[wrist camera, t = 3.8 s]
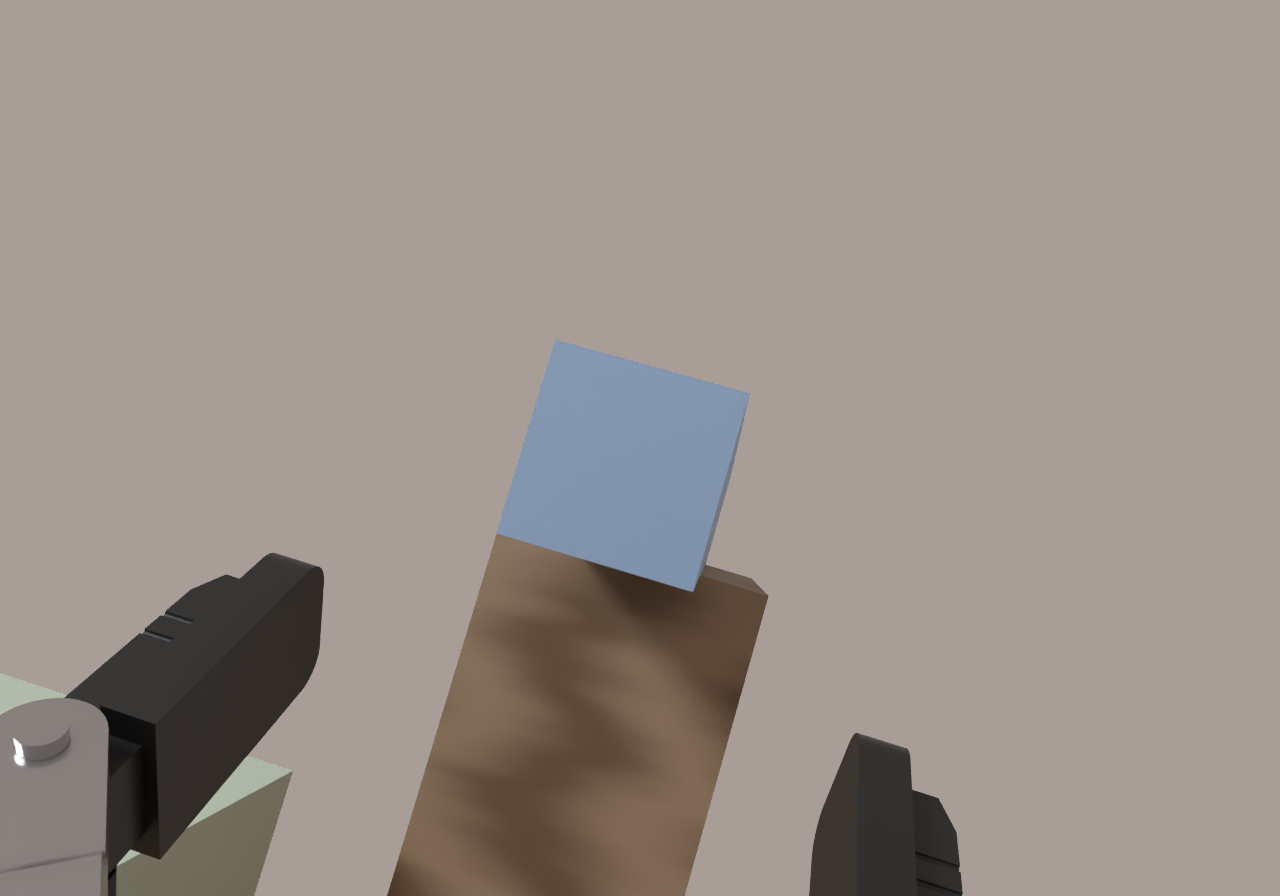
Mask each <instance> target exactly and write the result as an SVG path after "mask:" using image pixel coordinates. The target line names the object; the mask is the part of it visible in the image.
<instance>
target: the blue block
mask: <svg viewBox="0 0 1280 896" xmlns="http://www.w3.org/2000/svg"><path fill="white" fill-rule="evenodd" d="M748 398H749V393H747V392H743V391H740V390H736V389H732V388H728V387H725V386H721V385H718V384H714V383H710V382H707V381H703V380H700V379H696V378H692V377H689V376H685V375H681V374H678V373H674V372H671V371H667V370H663V369H660V368H656V367H652V366H648V365H645V364H642V363H638V362H634V361H631V360H627V359H624V358H620V357H616V356H613V355H609V354H605V353H602V352H598V351H595V350H591V349H587V348H584V347H580V346H576V345H573V344H569V343H565V342H562V341H558V340H555V341H554V345H553V348H552V352H551V355H550V358H549V361H548V365H547V368H546V371H545V374H544V378H543V381H542V384H541V388H540V391H539V394H538V398H537V401H536V404H535V408H534V411H533V414H532V418H531V421H530V424H529V427H528V431H527V434H526V437H525V441H524V444H523V447H522V451H521V454H520V457H519V460H518V464H517V467H516V470H515V474H514V477H513V480H512V484H511V487H510V490H509V494H508V497H507V501H506V503H505V507H504V510H503V513H502V517H501V520H500V523H499V527H498V530H497V534H500V535H504V536H507V537H510V538H514V539H517V540H520V541H524V542H527V543H530V544H534V545H537V546H540V547H544V548H547V549H551V550H554V551H557V552H561V553H564V554H567V555H571V556H574V557H577V558H581V559H584V560H587V561H591V562H594V563H597V564H601V565H604V566H607V567H611V568H614V569H617V570H621V571H624V572H627V573H631V574H634V575H637V576H641V577H644V578H647V579H651V580H654V581H657V582H661V583H664V584H667V585H671V586H674V587H677V588H681V589H684V590H687V591H691V592H693V591H694V588H695V586H696V584H697V582H698V580H699V577H700V575H701V573H702V571H703V568H704V566H705V564H706V560H707V557H708V553H709V550H710V547H711V543H712V540H713V536H714V533H715V529H716V526H717V522H718V519H719V515H720V512H721V508H722V505H723V501H724V498H725V494H726V491H727V487H728V484H729V480H730V477H731V472H732V468H733V464H734V459H735V455H736V450H737V446H738V442H739V437H740V433H741V429H742V424H743V420H744V416H745V412H746V407H747V403H748Z"/></svg>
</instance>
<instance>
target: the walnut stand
mask: <svg viewBox="0 0 1280 896" xmlns="http://www.w3.org/2000/svg"><path fill="white" fill-rule="evenodd" d="M767 599H768V595H767V594H766V593H765V592H764V591H763V590H762V589H761V588H760V587H759V586H758V585H757V584H756V583H755V582H754V581H753V580H752V579H751V578H748V577H745V576H741V575H738V574H735V573H731V572H727V571H724V570H721V569H718V568H714V567H711V566H707V565H705V566H704V568H703V571H702V573H701V575H700V577H699V580H698V582H697V584H696V586H695V588H694V591H693V592H691V591H687V590H684V589H681V588H677V587H674V586H671V585H667V584H664V583H661V582H657V581H654V580H651V579H647V578H644V577H641V576H637V575H634V574H631V573H627V572H624V571H621V570H617V569H614V568H611V567H607V566H604V565H601V564H597V563H594V562H591V561H587V560H584V559H581V558H577V557H574V556H571V555H567V554H564V553H561V552H557V551H554V550H551V549H547V548H544V547H540V546H537V545H534V544H530V543H527V542H524V541H520V540H517V539H514V538H510V537H507V536H504V535H500V534H497V535H496V538H495V541H494V544H493V548H492V551H491V554H490V558H489V561H488V564H487V567H486V571H485V574H484V578H483V581H482V584H481V587H480V591H479V594H478V597H477V601H476V604H475V607H474V610H473V614H472V617H471V621H470V624H469V627H468V630H467V634H466V637H465V640H464V644H463V647H462V650H461V653H460V657H459V660H458V663H457V667H456V670H455V673H454V677H453V680H452V683H451V687H450V690H449V693H448V696H447V700H446V703H445V706H444V710H443V713H442V716H441V720H440V723H439V727H438V730H437V733H436V736H435V740H434V743H433V746H432V749H431V753H430V756H429V759H428V763H427V766H426V769H425V773H424V776H423V779H422V782H421V786H420V789H419V793H418V796H417V799H416V802H415V806H414V809H413V812H412V816H411V819H410V822H409V825H408V829H407V832H406V835H405V839H404V842H403V845H402V849H401V852H400V856H399V859H398V862H397V865H396V869H395V872H394V875H393V879H392V882H391V885H390V888H389V892H388V895H387V896H685V892H686V888H687V885H688V881H689V878H690V874H691V870H692V867H693V863H694V860H695V856H696V853H697V849H698V846H699V842H700V838H701V835H702V831H703V828H704V824H705V821H706V817H707V813H708V810H709V806H710V803H711V799H712V796H713V792H714V788H715V785H716V781H717V777H718V774H719V770H720V767H721V763H722V760H723V756H724V753H725V749H726V746H727V742H728V738H729V735H730V731H731V728H732V724H733V721H734V717H735V713H736V709H737V706H738V703H739V699H740V696H741V692H742V688H743V685H744V681H745V677H746V674H747V670H748V666H749V663H750V660H751V656H752V652H753V649H754V645H755V642H756V638H757V635H758V631H759V627H760V624H761V620H762V617H763V613H764V610H765V606H766V603H767Z"/></svg>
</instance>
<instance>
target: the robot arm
mask: <svg viewBox="0 0 1280 896" xmlns="http://www.w3.org/2000/svg"><path fill="white" fill-rule="evenodd" d="M323 587H324V574H323V571H322V569H321V568H320V567H318V566H315V565H311V564H308V563H305V562H302V561H299V560H295V559H292V558H289V557H286V556H283V555H279V554H276V553H270V554H268V555H266V556H265V557H264V558H262V559H261V560H260V561H259V562H258V563H257V564H256V565H255V566H254V567H252V568H251V569H250V570H249V571H248V572H247V573H246V574H245V575H244V576H242V577H241V578H240V579H238V578H235V577H232V576H229V575H224V576H222V577H219V578H217V579H214V580H212V581H210V582H207V583H205V584H203V585H200V586H198V587H196V588H193V589H191V590H190V591H189V592H188V593H186V594H185V595H184V596H183V597H182V598H180V599H179V600H178V601H177V602H176V603H175V604H174V605H172V606H171V607H170V608H169V609H168V610H166V612H165V615H164V616H159V617H158V618H157V619H156V620H155V621H154V622H152V623H151V624H150V625H149V626H148V627H147V628H145V631H144V633H143V634H138V635H137V636H136V637H135V638H134V639H132V640H131V641H130V642H129V643H128V644H127V645H125V646H124V647H123V648H122V649H121V650H120V651H118V652H117V653H116V654H115V655H114V656H113V657H111V658H110V659H109V660H108V661H107V662H106V663H104V664H103V665H102V666H101V667H100V668H99V669H97V670H96V671H95V672H94V673H93V674H92V675H90V676H89V677H88V678H87V679H86V680H84V681H83V682H82V683H81V684H80V685H79V686H78V687H76V688H75V689H74V690H73V691H72V692H70V693H69V694H68V695H67V696H66V697H65V698H50V699H42V700H37V701H32V702H29V703H25V704H22V705H20V706H17V707H15V708H12V709H10V710H8V711H6V712H4V713H2V714H1V715H0V896H118V868H117V864H118V863H119V862H120V861H121V860H122V858H123V857H124V856H125V855H126V854H127V853H128V852H129V850H133V851H136V852H139V853H142V854H145V855H147V856H150V857H153V858H156V859H159V860H161V858H162V857H163V856H164V855H165V854H166V852H167V851H168V850H169V849H170V848H171V846H172V845H173V844H174V843H175V842H176V840H177V839H178V838H179V837H180V836H181V834H182V833H183V832H184V831H185V830H186V828H187V827H188V826H189V825H190V824H191V822H192V821H193V820H194V819H195V818H196V816H197V815H198V814H199V813H200V812H201V810H202V809H203V808H204V807H205V806H206V804H207V803H208V802H209V801H210V800H211V798H212V797H213V796H214V795H215V794H216V792H217V791H218V790H219V789H220V788H221V786H222V785H223V784H224V783H225V782H226V780H227V779H228V778H229V777H230V776H231V775H232V773H233V772H234V771H235V770H236V769H237V767H238V766H239V765H240V764H241V763H242V761H243V760H244V759H245V758H246V757H247V755H248V754H249V753H250V752H251V750H252V749H253V748H254V747H255V746H256V745H257V743H258V742H259V741H260V740H261V739H262V737H263V736H264V735H265V734H266V733H267V731H268V730H269V729H270V728H271V726H272V725H273V724H274V723H275V722H276V721H277V719H278V718H279V717H280V716H281V715H282V713H283V712H284V711H285V710H286V708H287V707H288V706H289V705H290V704H291V703H292V701H293V700H294V699H295V698H296V697H297V695H298V694H299V693H300V692H301V691H302V689H303V688H304V686H305V685H306V683H307V682H308V680H309V678H310V676H311V674H312V672H313V669H314V667H315V664H316V661H317V657H318V654H319V647H320V633H321V618H322V617H321V616H322V603H323ZM959 866H960V863H959V854H958V845H957V834H956V831H955V829H954V827H953V825H952V823H951V821H950V819H949V817H948V816H947V814H946V812H945V810H944V808H943V806H942V804H941V803H940V801H939V799H938V798H936V797H933V796H930V795H927V794H923V793H920V792H917V791H914V790H912V783H911V764H910V753H909V751H908V749H907V748H903V747H900V746H897V745H894V744H890V743H887V742H884V741H881V740H877V739H875V738H871V737H868V736H865V735H861V734H859V733H855V734H854V735H853V737H852V739H851V741H850V743H849V745H848V748H847V750H846V753H845V755H844V757H843V760H842V762H841V765H840V767H839V770H838V772H837V775H836V777H835V780H834V782H833V784H832V787H831V789H830V792H829V794H828V797H827V799H826V802H825V804H824V806H823V809H822V812H821V815H820V818H819V822H818V825H817V830H816V834H815V839H814V845H813V852H812V865H811V879H810V893H809V896H962V893H963V892H962V883H961V873H960V872H959Z"/></svg>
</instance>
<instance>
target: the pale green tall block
mask: <svg viewBox="0 0 1280 896" xmlns="http://www.w3.org/2000/svg"><path fill="white" fill-rule="evenodd" d="M66 696H67V695H64V694H61V693H58V692H55V691H52V690H49V689H46V688H43V687H40V686H38V685H35V684H32V683H28V682H25V681H22V680H20V679H16V678H14V677H10V676H7V675H5V674H1V673H0V715H1V714H2V713H4V712H6V711H8V710H10V709H12V708H15V707H17V706H20V705H22V704H25V703H29V702H32V701H37V700H42V699H50V698H65V697H66ZM292 772H293V771H292V770H289V769H286V768H283V767H280V766H277V765H274V764H271V763H268V762H265V761H262V760H259V759H256V758H253V757H250V756H247V757H246V758H245V759H244V760H243V761H242V763H241V764H240V765H239V766H238V767H237V769H236V770H235V771H234V772H233V773H232V775H231V776H230V777H229V778H228V779H227V780H226V782H225V783H224V784H223V785H222V786H221V788H220V789H219V790H218V791H217V792H216V794H215V795H214V796H213V797H212V798H211V800H210V801H209V802H208V803H207V804H206V806H205V807H204V808H203V809H202V810H201V812H200V813H199V814H198V815H197V816H196V818H195V819H194V820H193V821H192V822H191V824H190V825H189V826H188V827H187V828H186V830H185V831H184V832H183V833H182V834H181V836H180V837H179V838H178V839H177V840H176V842H175V843H174V844H173V845H172V846H171V848H170V849H169V850H168V851H167V852H166V854H165V855H164V856H163V857H162V858H161V860H159V859H156V858H153V857H150V856H147V855H145V854H142V853H139V852H136V851H133V850H129V852H128V853H127V854H126V855H125V856H124V857H123V858H122V860H121V861H120V862H119V863H118V864H117V868H118V896H254V893H255V891H256V887H257V884H258V881H259V878H260V874H261V871H262V868H263V865H264V862H265V858H266V855H267V852H268V849H269V846H270V842H271V839H272V836H273V833H274V830H275V826H276V823H277V820H278V817H279V814H280V810H281V807H282V804H283V801H284V798H285V794H286V791H287V788H288V785H289V782H290V778H291V775H292Z"/></svg>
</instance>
